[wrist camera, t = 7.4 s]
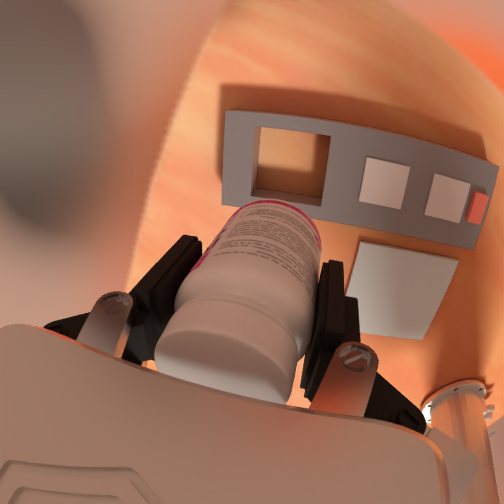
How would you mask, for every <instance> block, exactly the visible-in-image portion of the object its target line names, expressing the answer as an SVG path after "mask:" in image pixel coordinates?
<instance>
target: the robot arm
mask: <svg viewBox="0 0 504 504" xmlns="http://www.w3.org/2000/svg"><path fill="white" fill-rule="evenodd" d="M201 256H202V242H201V241H198V238H197V237H195V236H189V235H183V236H182V237H181V238H180V239H179V240H178V241H177V242H176V243H175V244H174V245H173V246H172V247H171V248H170V249H169V250H168V251H167V252H166V254H165V255H164V256H163V257H162V258H161V259H160V260H159V261H158V262H157V263H156V264H155V265H154V266H153V267H152V268H151V269H150V270H149V271H148V273H147V274H146V275H145V276H144V277H143V278H142V279H141V280H140V281H139V282H138V284H137V285H136V286H135V287H134V288H133V289H132V290H131V291H130V292H129V294H127V293H125V292H120V291H116V292H115V291H114V292H110V293H107V294H105V295H103V296H101V297H100V298H99V299H98V300H97V301H96V303H95V305H94V307H93V309H92V310H91V312H89V313H85V314H81V315H77V316H73V317H69V318H65V319H61V320H57V321H53V322H51V323H48V324H47V325H45V326H44V327H43V328H42V327H38V326H32V325H27V324H12V325H7V326H4V327H2V328H1V329H0V504H500V501H499V496H498V490H497V483H496V476H495V469H494V464H493V457H492V451H491V446H490V440H489V435H488V431H487V426H486V422H485V421H487V420H490V419H491V418H492V411H494V408H495V406H494V405H493V404H491V405H486V404H485V401H484V399H485V397H486V393H487V392H486V388H485V385H484V383H483V382H481V381H479V380H462V381H458V382H455V383H452V384H450V385H448V386H445V387H443V388H442V389H440V390H438V391H437V392H435V393H434V394H432V395H431V396H430V397H429V398H428V399H427V400H426V401H425V402H424V404H423V405H422V408H421V411H420V410H419V409H418V408H417V407H416V406H415V405H414V404H413V403H412V402H410V401H409V400H408V399H407V398H406V397H405V396H404V395H402V394H401V393H400V392H399V391H398V390H397V389H396V388H395V387H393V386H392V385H391V384H390V383H389V382H388V381H387V380H385V379H384V378H383V377H382V376H381V375H380V374H379V373H378V372H377V369H378V363H379V360H378V357H377V354H376V353H375V352H374V350H373V349H371V348H370V347H369V346H367V345H365V344H363V343H361V340H360V323H359V308H358V299H357V298H355V297H349V296H344V269H343V262H340V261H335V260H329V262H328V263H325V262H323V265H322V270H321V274H320V279H319V283H318V292H317V303H316V315H315V324H314V331H313V336H312V340H311V343H310V346H309V348H308V350H307V352H306V353H305V358H304V365H303V372H302V378H301V384H300V388H303V389H305V394H304V397H305V398H308V399H309V401H310V402H311V405H310V407H309V409H307V408H301V407H295V406H290V405H284V404H279V403H274V402H269V401H264V400H260V399H255V398H251V397H246V396H242V395H238V394H234V393H230V392H226V391H222V390H218V389H214V388H210V387H207V386H203V385H200V384H196V383H193V382H189V381H186V380H183V379H179V378H176V377H173V376H170V375H166V374H163V373H160V372H157V371H154V370H151V369H149V368H146V366H147V361H148V360H154V361H155V359H154V352H155V347H156V344H157V342H158V340H159V339H160V337H161V335H162V333H163V332H164V330H165V328H166V326H167V325H168V323H169V321H170V319H171V317H172V316H173V315H174V304H175V298H176V295H177V292H178V289H179V288H180V286H181V284H182V282H183V281H184V279H185V278H186V276H187V275H188V274H189V272H190V271H191V269H192V268H193V267H194V266H195V264H196V263H197V262H198V260H199V259H200V258H201ZM426 422H428V423H431V426H432V429H431V428H430V427H428V426H427V425H426Z"/></svg>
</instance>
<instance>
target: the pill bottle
mask: <svg viewBox="0 0 504 504" xmlns="http://www.w3.org/2000/svg"><path fill="white" fill-rule="evenodd" d="M321 248H322V247H321V239H320V235H319V232H318V229H317V227H316V225H315V224H314V222H313V220H312V219H311V218H310V217H309V215H308V214H306V213H305V212H304V211H303V210H302V209H300V208H299V207H297V206H295V205H293V204H291V203H289V202H286V201H283V200H279V199H259V200H255V201H252V202H249V203H247V204H245V205H244V206H242V207H241V208H239V209H238V210H237V211H236V212H235V213H234V214H233V215H232V216H231V217H230V219H229V220H228V222H227V223H226V224H225V226H224V227H223V228H222V230H221V231H220V232H219V234H218V235H217V236H216V238H215V239H214V240H213V242H212V243H211V244H210V246H209V247H208V248H207V250H206V251H205V252H204V253H203V255H202V256H201V258H200V259H199V260H198V262H197V263H196V264H195V266H194V267H193V268H192V269H191V271H190V272H189V274H188V275H187V276H186V278H185V279H184V281H183V282H182V284H181V286H180V288H179V289H178V292H177V295H176V298H175V304H174V315H173V316H172V317H171V319H170V321H169V323H168V325H167V326H166V328H165V330H164V332H163V333H162V335H161V337H160V339H159V340H158V342H157V344H156V347H155V352H154V359H155V364H156V366H157V369H158V371H159V372H160V373H163V374H166V375H170V376H173V377H176V378H179V379H183V380H186V381H189V382H193V383H196V384H200V385H203V386H207V387H210V388H214V389H218V390H222V391H226V392H230V393H234V394H238V395H242V396H246V397H251V398H255V399H260V400H264V401H269V402H274V403H279V404H284V405H285V404H286V402H287V401H288V399H289V397H290V394H291V391H292V386H293V381H294V377H295V371H296V366H297V362H298V361H299V360H300V359H301V358H302V357H303V356H304V354H305V353H306V352H307V350H308V348H309V346H310V343H311V340H312V336H313V331H314V324H315V315H316V303H317V292H318V280H319V268H320V259H321Z"/></svg>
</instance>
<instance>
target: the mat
mask: <svg viewBox="0 0 504 504" xmlns="http://www.w3.org/2000/svg"><path fill="white" fill-rule="evenodd" d="M458 263H459V261H458V259H454V258H449V257H444V256H439V255H434V254H429V253H424V252H419V251H414V250H409V249H404V248H399V247H394V246H388V245H383V244H378V243H372V242H367V241H361V240H360V244H359V248H358V252H357V255H356V259H355V263H354V267H353V270H352V274H351V277H350V281H349V284H348V288H347V291H346V295H345V296H349V297H355V298H357V299H358V308H359V323H360V333H367V334H374V335H381V336H389V337H397V338H405V339H414V340H422V339H423V337H424V335H425V334H426V332H427V330H428V328H429V326H430V324H431V322H432V320H433V318H434V316H435V314H436V312H437V310H438V308H439V306H440V304H441V302H442V300H443V298H444V295H445V293H446V291H447V289H448V287H449V284H450V282H451V280H452V277H453V275H454V273H455V270H456V268H457V265H458Z"/></svg>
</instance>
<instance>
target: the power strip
mask: <svg viewBox="0 0 504 504" xmlns="http://www.w3.org/2000/svg"><path fill="white" fill-rule="evenodd" d="M261 127H267V128H276V129H285V130H293V131H301V132H308V133H315V134H321V135H327V136H330V143H329V150H328V157H327V164H326V171H325V178H324V185H323V191H322V198H318V197H312V196H306V195H299V194H293V193H286V192H279V191H273V190H266V189H258V188H256V184H257V171H258V157H259V144H260V131H261ZM498 169H499V167H498V166H497V165H495V164H493V163H491V162H489V161H487V160H484V159H482V158H479V157H476V156H473V155H470V154H468V153H465V152H462V151H459V150H456V149H452V148H449V147H446V146H443V145H439V144H436V143H433V142H429V141H426V140H422V139H418V138H415V137H411V136H407V135H403V134H399V133H395V132H391V131H386V130H382V129H377V128H373V127H368V126H363V125H358V124H353V123H347V122H342V121H336V120H330V119H324V118H317V117H310V116H303V115H295V114H286V113H277V112H267V111H255V110H241V109H231V110H225V127H224V149H223V175H222V205H228V206H235V207H242V206H244V205H245V204H247V203H249V202H252V201H255V200H259V199H279V200H283V201H286V202H289V203H291V204H293V205H295V206H297V207H299V208H300V209H302V210H303V211H304V212H305V213H306V214H308V215H309V217H310V218H313V219H318V220H324V221H330V222H336V223H341V224H347V225H353V226H358V227H363V228H369V229H374V230H379V231H384V232H390V233H395V234H400V235H405V236H409V237H414V238H419V239H424V240H429V241H433V242H438V243H443V244H447V245H452V246H456V247H461V248H465V249H469V250H474V248H475V245H476V242H477V239H478V237H479V234H480V231H481V228H482V225H483V222H484V219H485V216H486V213H487V210H488V207H489V203H490V200H491V196H492V193H493V189H494V185H495V182H496V178H497V174H498Z"/></svg>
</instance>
